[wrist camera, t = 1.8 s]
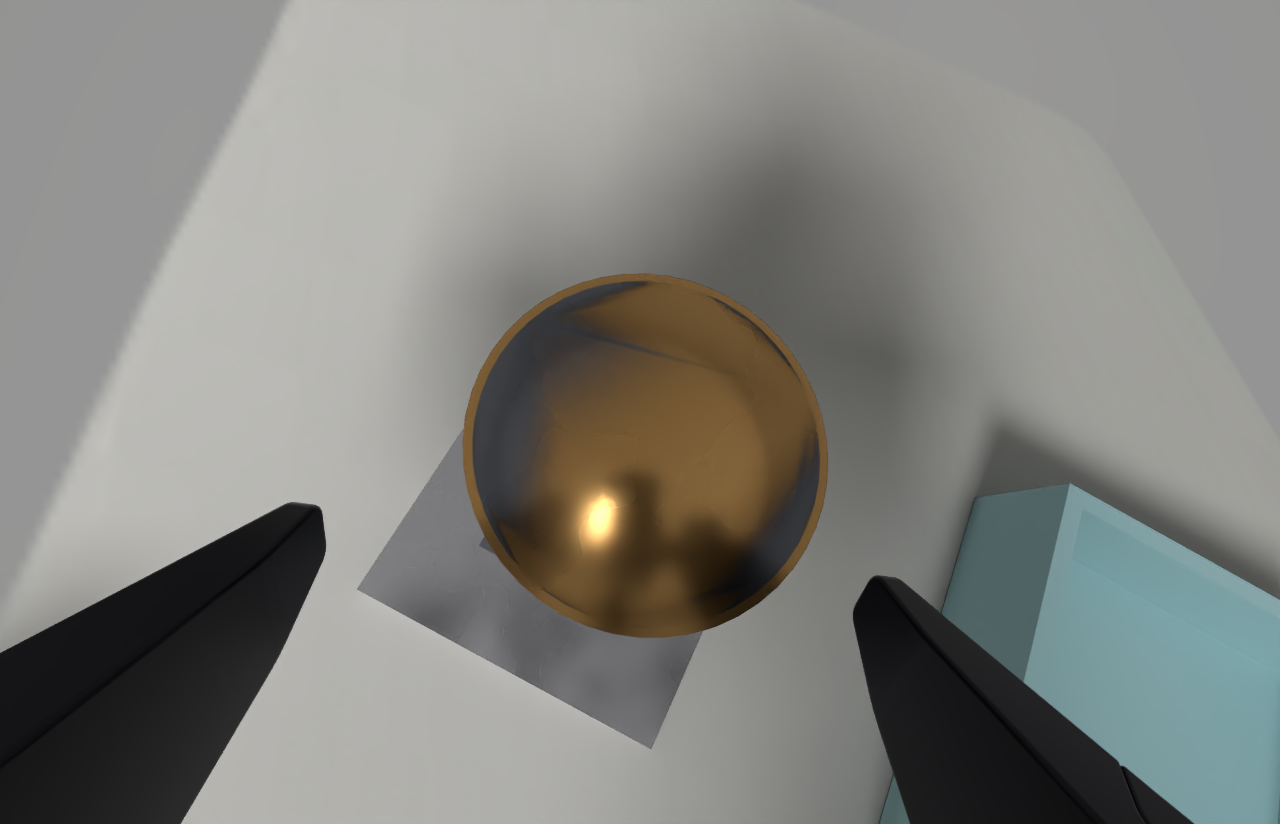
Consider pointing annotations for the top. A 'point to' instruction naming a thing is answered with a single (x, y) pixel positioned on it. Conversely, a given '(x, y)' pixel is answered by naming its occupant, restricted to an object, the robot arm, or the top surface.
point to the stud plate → (518, 615)
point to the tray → (1128, 646)
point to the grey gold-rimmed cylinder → (645, 455)
